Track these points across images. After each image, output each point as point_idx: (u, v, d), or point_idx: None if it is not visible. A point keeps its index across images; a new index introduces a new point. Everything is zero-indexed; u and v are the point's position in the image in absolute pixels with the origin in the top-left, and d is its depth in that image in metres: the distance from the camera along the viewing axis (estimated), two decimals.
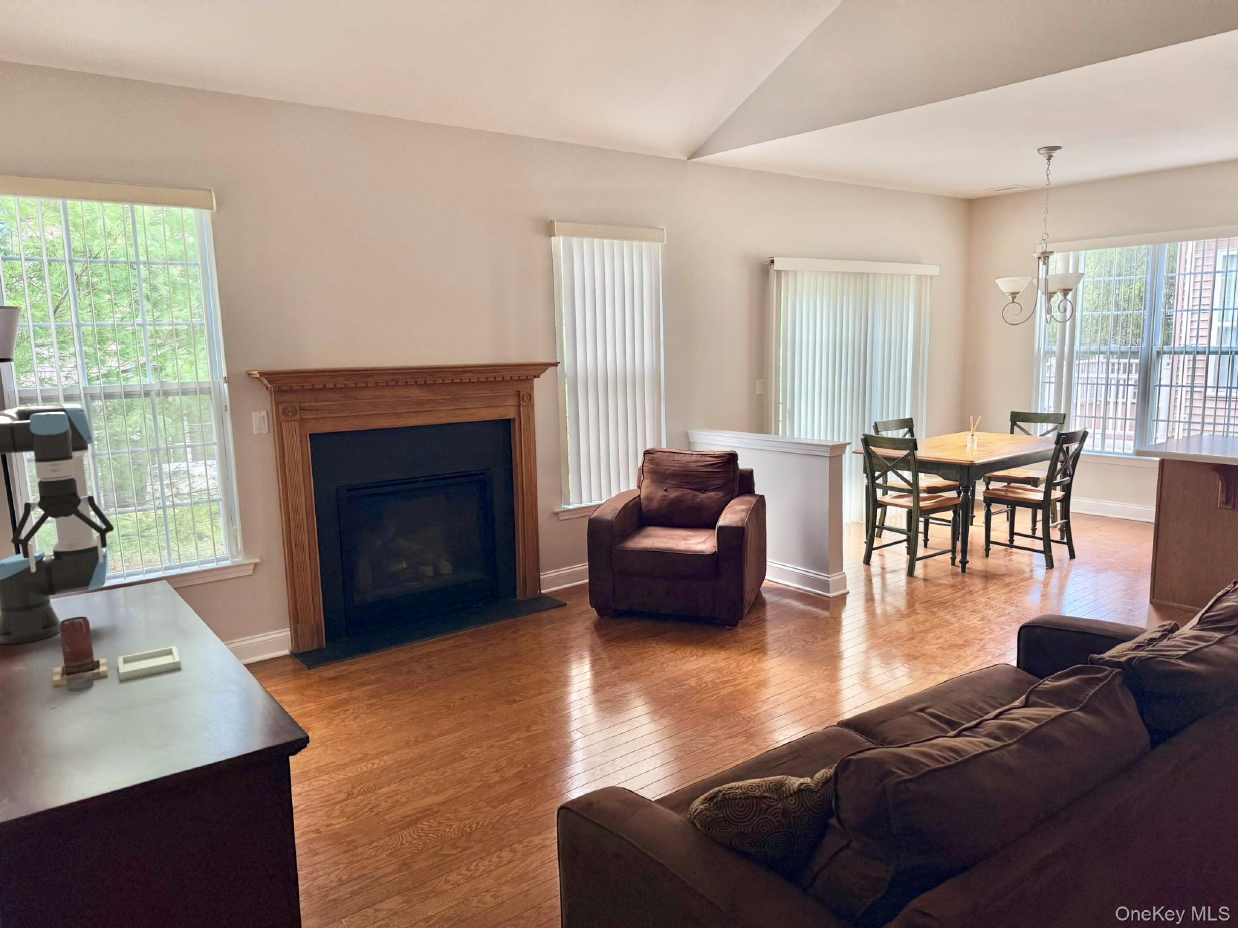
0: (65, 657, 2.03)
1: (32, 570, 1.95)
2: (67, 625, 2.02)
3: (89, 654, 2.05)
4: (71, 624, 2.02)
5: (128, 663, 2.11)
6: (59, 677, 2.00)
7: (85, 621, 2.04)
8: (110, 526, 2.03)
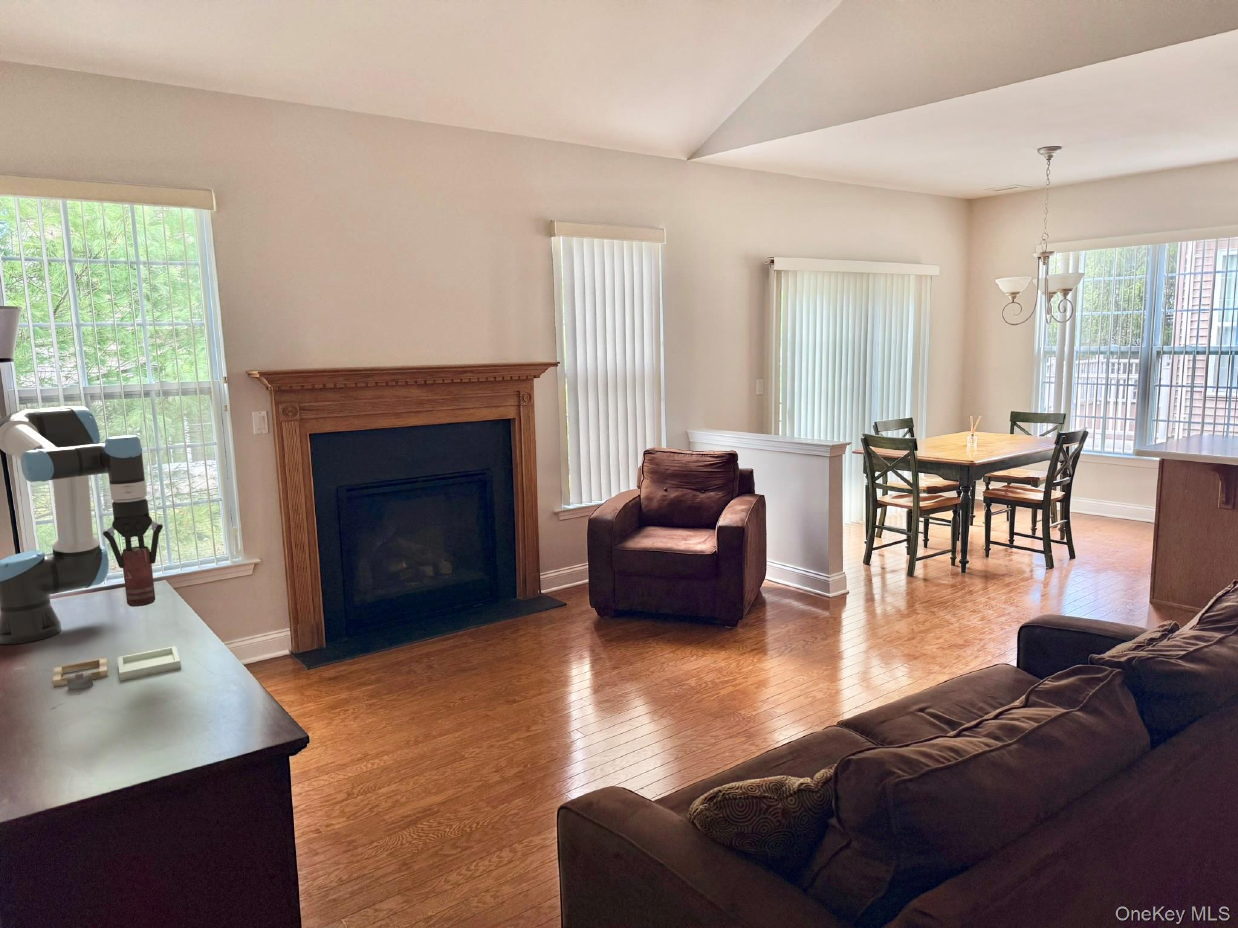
0: (127, 585, 2.04)
1: None
2: (130, 552, 2.03)
3: (150, 583, 2.06)
4: (133, 552, 2.03)
5: (128, 663, 2.11)
6: (59, 677, 2.00)
7: (147, 550, 2.06)
8: (154, 559, 2.07)
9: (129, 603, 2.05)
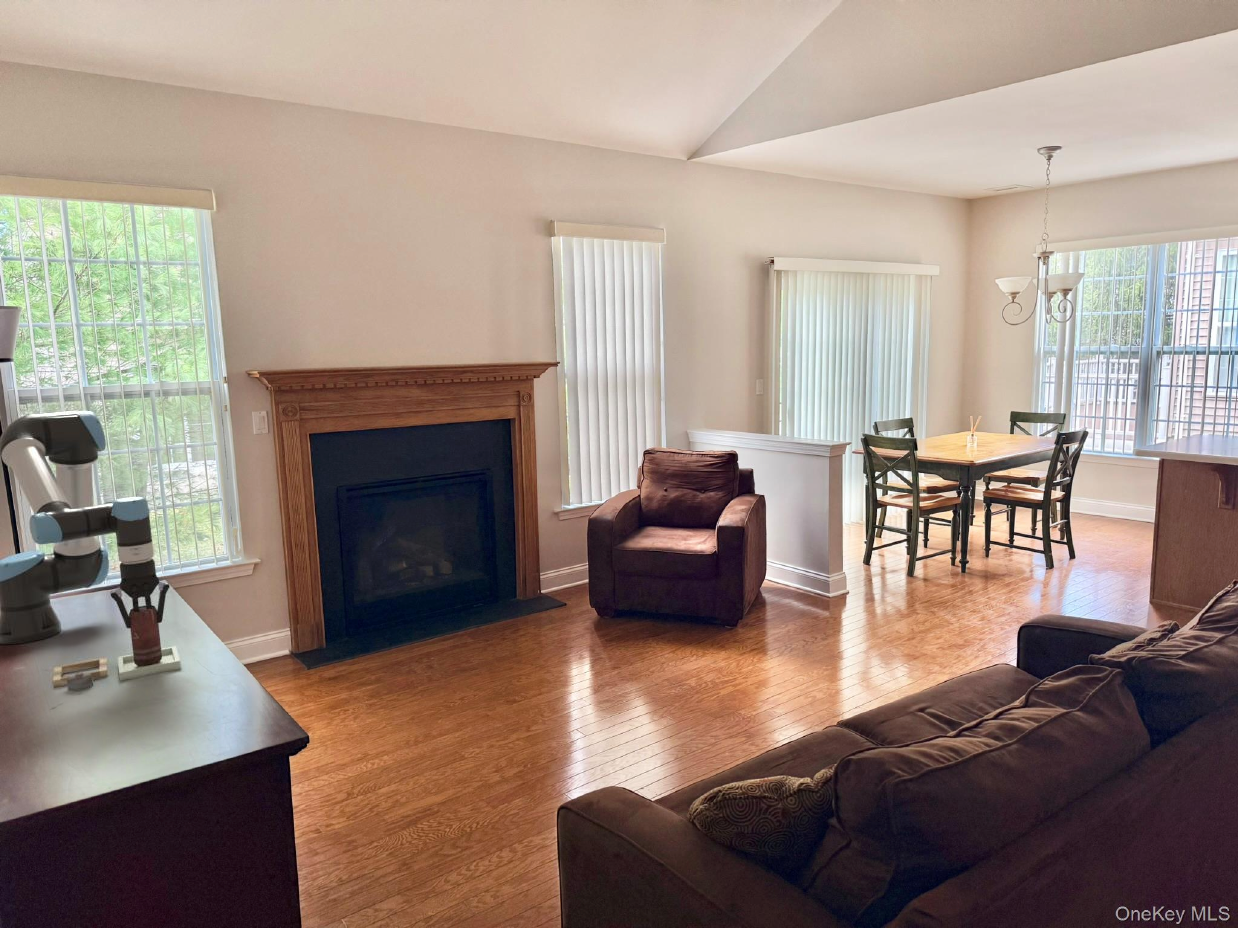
0: (134, 645, 2.06)
1: None
2: (137, 613, 2.05)
3: (157, 642, 2.09)
4: (141, 612, 2.05)
5: (128, 663, 2.11)
6: (59, 677, 2.00)
7: (154, 609, 2.08)
8: (161, 618, 2.09)
9: (136, 663, 2.07)
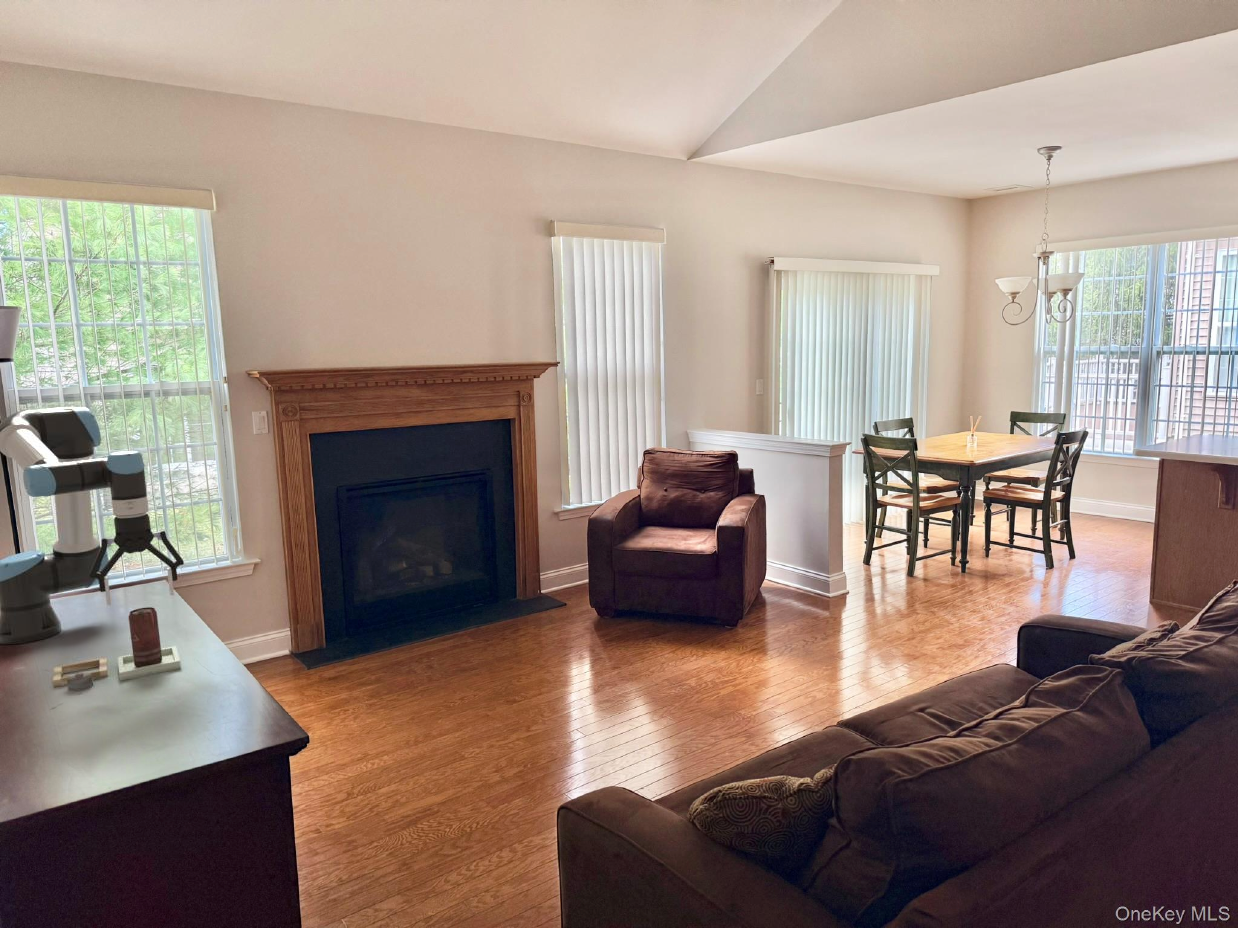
0: (134, 647, 2.06)
1: (108, 603, 2.03)
2: (136, 615, 2.05)
3: (157, 644, 2.09)
4: (140, 614, 2.05)
5: (128, 663, 2.11)
6: (59, 677, 2.00)
7: (153, 611, 2.08)
8: (181, 560, 2.10)
9: (136, 665, 2.07)
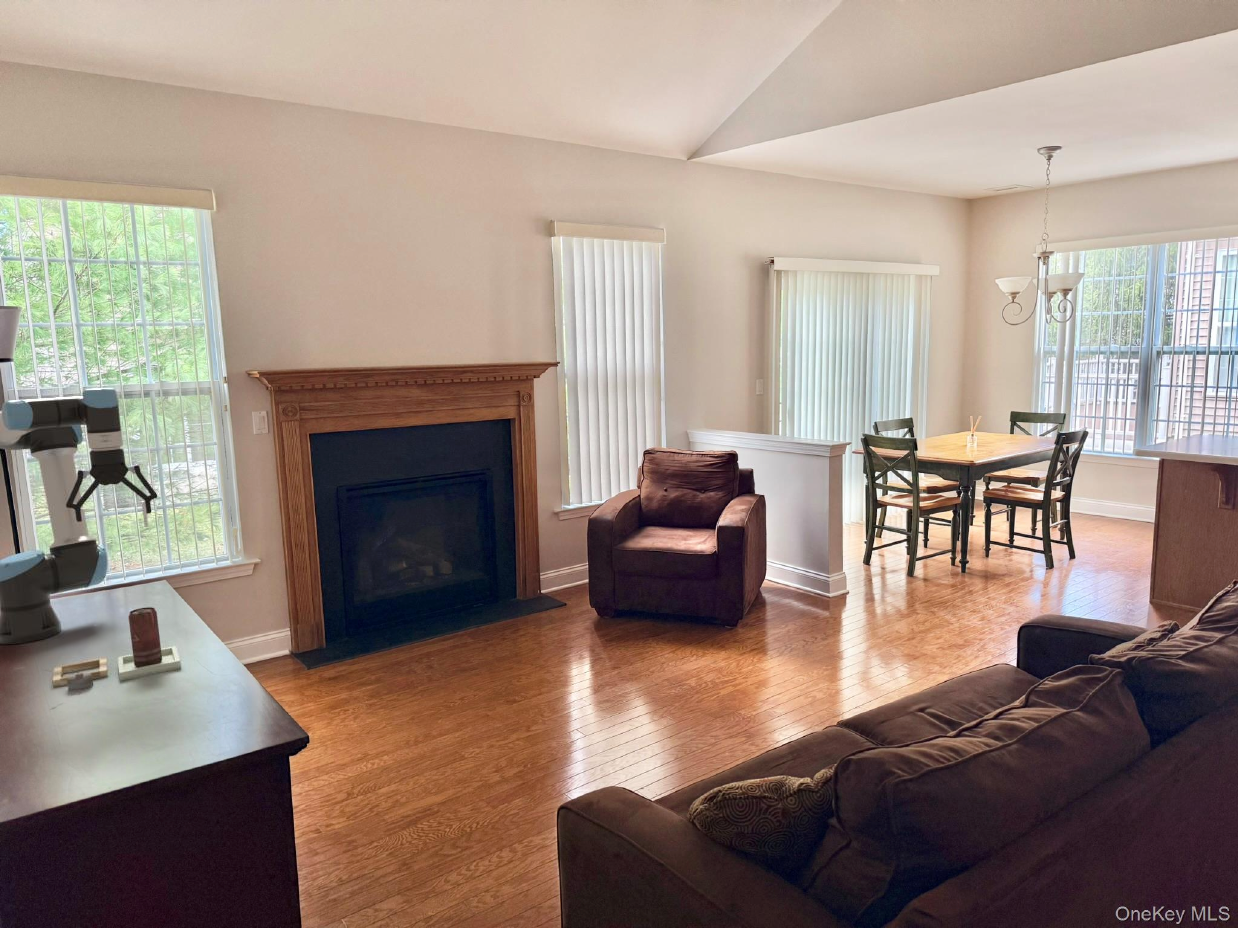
0: (134, 647, 2.06)
1: (84, 533, 2.13)
2: (136, 615, 2.05)
3: (157, 644, 2.09)
4: (140, 614, 2.05)
5: (128, 663, 2.11)
6: (59, 677, 2.00)
7: (153, 611, 2.08)
8: (154, 493, 2.20)
9: (136, 665, 2.07)
